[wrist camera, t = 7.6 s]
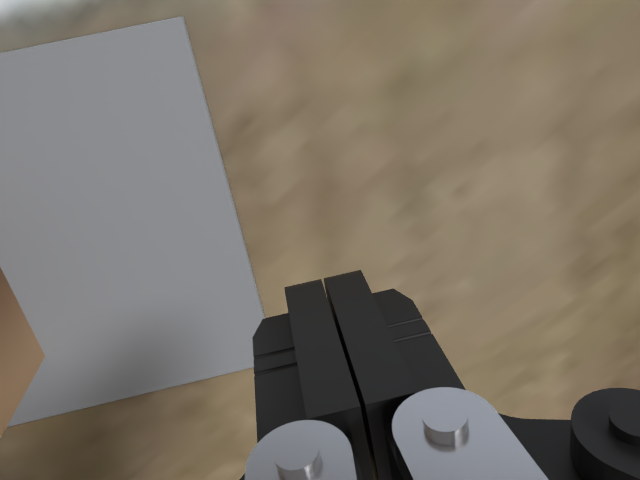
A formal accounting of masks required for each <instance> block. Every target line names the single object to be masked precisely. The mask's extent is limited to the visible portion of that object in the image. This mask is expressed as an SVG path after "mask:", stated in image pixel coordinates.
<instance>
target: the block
mask: <svg viewBox="0 0 640 480" xmlns="http://www.w3.org/2000/svg"><path fill="white" fill-rule="evenodd" d="M44 358H45V354H44V352H43V350H42V348H41V347H40V345H39V343H38V341H37V339H36V337H35V335H34V333H33V331H32V329H31V327H30V325H29V323H28V321H27V319H26V317H25V315H24V313H23V311H22V309H21V307H20V305H19V303H18V301H17V299H16V297H15V295H14V293H13V291H12V289H11V287H10V285H9V283H8V281H7V279H6V277H5V275H4V273H3V271H2V269H1V267H0V438H1V436H2V435H3V433H4V431H5V429H6V427H7V426H8V424H9V422H10V420H11V418H12V416H13V415H14V413H15V411H16V409H17V407H18V405H19V404H20V402H21V400H22V398H23V396H24V394H25V393H26V391H27V389H28V387H29V385H30V383H31V382H32V380H33V378H34V376H35V374H36V373H37V371H38V369H39V367H40V365H41V363H42V362H43V360H44Z"/></svg>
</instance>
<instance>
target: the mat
mask: <svg viewBox="0 0 640 480" xmlns="http://www.w3.org/2000/svg"><path fill="white" fill-rule="evenodd" d="M0 267H1V269H2V271H3V273H4V275H5V277H6V279H7V281H8V283H9V285H10V287H11V289H12V291H13V293H14V295H15V297H16V299H17V301H18V303H19V305H20V307H21V309H22V311H23V313H24V315H25V317H26V319H27V321H28V323H29V325H30V327H31V329H32V331H33V333H34V335H35V337H36V339H37V341H38V343H39V345H40V347H41V348H42V350H43V352H44V354H45V358H44V360H43V362H42V363H41V365H40V367H39V369H38V371H37V373H36V374H35V376H34V378H33V380H32V382H31V383H30V385H29V387H28V389H27V391H26V393H25V394H24V396H23V398H22V400H21V402H20V404H19V405H18V407H17V409H16V411H15V413H14V415H13V416H12V418H11V420H10V422H9V424H8V426H7V427H10V426H14V425H18V424H22V423H26V422H30V421H34V420H38V419H43V418H47V417H51V416H55V415H59V414H63V413H67V412H71V411H75V410H80V409H84V408H88V407H92V406H96V405H100V404H104V403H108V402H112V401H117V400H121V399H125V398H129V397H133V396H137V395H141V394H145V393H149V392H154V391H158V390H162V389H166V388H170V387H174V386H178V385H182V384H186V383H191V382H195V381H199V380H203V379H207V378H211V377H215V376H219V375H223V374H228V373H232V372H236V371H240V370H244V369H248V368H252V367H254V357H253V339H252V337H253V336H254V334H255V332H256V330H257V328H258V326H259V325H260V323H261V321H262V319H265V315H264V312H263V308H262V304H261V301H260V297H259V293H258V290H257V286H256V282H255V279H254V275H253V271H252V268H251V264H250V260H249V256H248V253H247V249H246V245H245V242H244V238H243V234H242V231H241V227H240V223H239V220H238V216H237V212H236V209H235V205H234V201H233V198H232V194H231V190H230V187H229V183H228V179H227V175H226V172H225V168H224V164H223V161H222V157H221V153H220V150H219V146H218V142H217V139H216V135H215V131H214V128H213V124H212V120H211V117H210V113H209V109H208V106H207V102H206V98H205V95H204V91H203V87H202V83H201V80H200V76H199V72H198V69H197V65H196V61H195V58H194V54H193V50H192V47H191V43H190V39H189V36H188V32H187V28H186V25H185V21H184V17H183V16H180V17H175V18H170V19H165V20H160V21H155V22H150V23H145V24H141V25H136V26H131V27H126V28H121V29H116V30H111V31H106V32H101V33H96V34H91V35H86V36H81V37H76V38H72V39H67V40H62V41H57V42H52V43H47V44H42V45H37V46H32V47H27V48H22V49H17V50H12V51H7V52H2V53H0Z"/></svg>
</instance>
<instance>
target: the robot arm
mask: <svg viewBox="0 0 640 480" xmlns="http://www.w3.org/2000/svg"><path fill="white" fill-rule="evenodd" d="M324 284H325V289H326V293H325V290H324V287H323V284H322V281H321V279H319V280H315V281H311V282H306V283H302V284H297V285H293V286H289V287H285V294H286V300H287V306H288V312H289V313H286V314H282V315H278V316H273V317H269V318H265V319H262V321H261V323H260V325H259V326H258V328H257V330H256V332H255V334H254V336H253V337H252V339H253V357H254V374H255V377H254V380H255V400H256V421H257V445H256V446H255V447H254V448H253V450H252V452H251V454H250V455H249V458H248V460H247V463H246V469H245V474H244V475H243V476H242V478H241V479H240V480H640V390H635V389H627V388H609V389H602V390H598V391H595V392H592V393H590V394H588V395H586V396H584V397H583V398H582V399H580V400H579V401H578V402H577V404H576V405H575V406H574V409H573V411H572V415H571V420H545V419H521V418H515V417H509V416H506V415H502V414H499V413H497V411H496V410H495V409H494V408H493V407H492V405H491V404H490V403H489V402H487V401H486V400H485V399H483V398H482V397H480V396H478V395H477V394H474V393H472V392H469V391H467V390H466V389H465V388H464V386H463V384H462V383H461V381H460V379H459V378H458V376H457V374H456V373H455V371H454V369H453V368H452V366H451V364H450V363H449V361H448V359H447V358H446V356H445V354H444V353H443V351H442V349H441V348H440V346H439V344H438V342H437V341H436V339H435V337H434V336H433V334H431V331H430V329H429V327H428V326H427V324H426V322H425V321H424V320H423V319H422V316H421V314H420V312H419V311H418V309H417V307H416V306H415V304H414V302H413V301H412V300H411V299H410V298H408V297H406V296H405V295H403V294H401V293H400V292H398V291H396V290H395V289H390V290H385V291H381V292H377V293H371V290H370V288H369V286H368V284H367V282H366V280H365V278H364V276H363V273H362V272H361V270H358V271H354V272H350V273H345V274H341V275H336V276H332V277H328V278H324ZM326 294H327V297H326ZM327 299H328V300H327Z"/></svg>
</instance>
